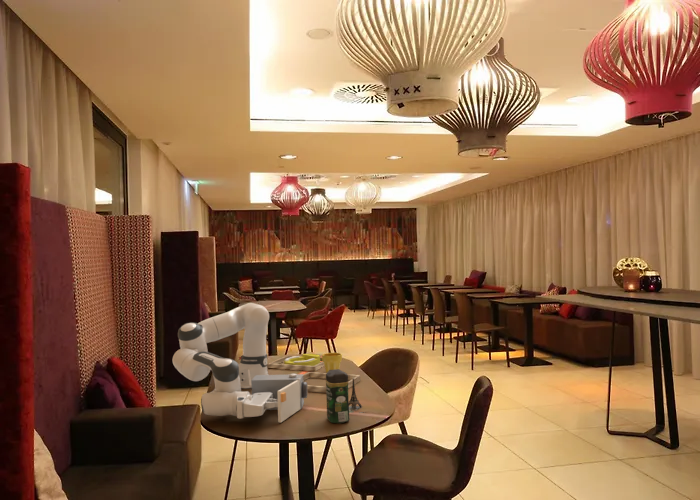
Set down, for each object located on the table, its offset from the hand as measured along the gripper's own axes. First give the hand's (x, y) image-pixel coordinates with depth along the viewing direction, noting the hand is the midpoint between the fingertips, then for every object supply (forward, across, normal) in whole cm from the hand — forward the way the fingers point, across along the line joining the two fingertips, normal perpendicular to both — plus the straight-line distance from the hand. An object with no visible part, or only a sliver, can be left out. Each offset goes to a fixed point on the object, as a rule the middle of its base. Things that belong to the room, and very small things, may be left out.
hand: (280, 403), depth 200 cm
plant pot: (+12, -80, -6) cm, 81 cm away
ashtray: (-6, -100, -6) cm, 100 cm away
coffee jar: (+22, 0, -7) cm, 23 cm away
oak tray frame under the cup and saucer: (+10, -54, -6) cm, 56 cm away
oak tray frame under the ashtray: (-8, -100, -6) cm, 100 cm away
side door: (+3, -6, -6) cm, 9 cm away
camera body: (-4, -19, -6) cm, 21 cm away
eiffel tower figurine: (+26, -16, -7) cm, 32 cm away
